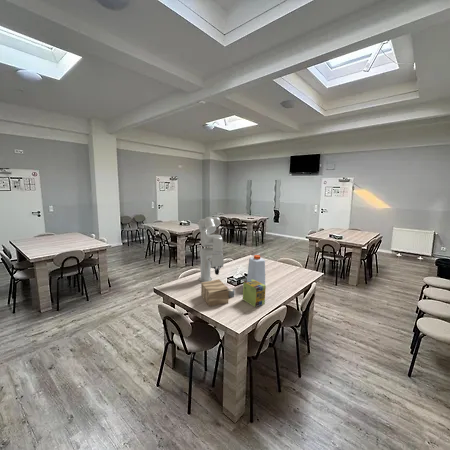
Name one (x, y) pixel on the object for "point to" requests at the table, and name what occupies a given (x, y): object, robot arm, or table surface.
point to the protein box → (254, 292)
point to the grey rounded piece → (231, 293)
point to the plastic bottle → (256, 269)
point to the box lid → (214, 286)
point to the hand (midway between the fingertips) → (216, 274)
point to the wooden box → (214, 297)
